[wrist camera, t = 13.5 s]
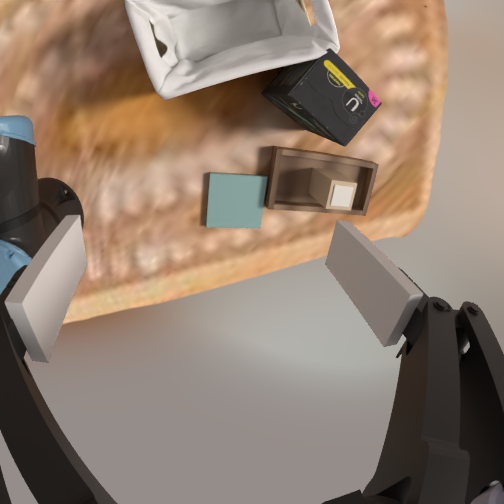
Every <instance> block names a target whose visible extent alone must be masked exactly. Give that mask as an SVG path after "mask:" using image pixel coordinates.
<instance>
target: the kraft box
mask: <svg viewBox="0 0 504 504" xmlns="http://www.w3.org/2000/svg"><path fill="white" fill-rule="evenodd" d="M356 187H357V183H356V182H354V181H353V180H351V179H350V178H348V177H346V176H345V175H343V174H341V173H340V172H338V171H336V170H329V169H321V168H314V167H313V170H312V175H311V180H310V185H309V191H308V193H309V194H310V195H311V196H312V197H313V198H315V199H316V200H317V201H318V202H319V203H320V204H321V205H322V206H323V207H325V208H326V209H338V210H350V211H351V207H352V204H353V200H354V196H355V191H356Z"/></svg>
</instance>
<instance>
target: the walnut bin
mask: <svg viewBox="0 0 504 504" xmlns="http://www.w3.org/2000/svg"><path fill="white" fill-rule="evenodd" d="M313 167H314V168H321V169H329V170H336V171H338V172H340V173H341V174H343V175H345V176H346V177H348V178H350V179H351V180H353V181H354V182H356V183H357V187H356V191H355V196H354V200H353V204H352V207H351V211H350V210H338V209H326V208H325V207H323V206H322V205H321V204H320V203H319V202H318V201H317V200H316V199H315V198H313V197H312V196H311V195H310V194H309V193H308V191H309V185H310V180H311V175H312V170H313ZM377 169H378V164H376V163H374V162H372V161H367V160H362V159H357V158H351V157H346V156H340V155H334V154H328V153H322V152H315V151H308V150H301V149H294V148H286V147H277V146H273V151H272V158H271V165H270V171H269V178H268V185H267V192H266V198H265V206H266V207H267V208H268V209H273V210H292V211H309V212H324V213H338V214H351V215H364V216H366V212H367V208H368V205H369V201H370V197H371V193H372V189H373V185H374V181H375V177H376V173H377Z"/></svg>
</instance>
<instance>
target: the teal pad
mask: <svg viewBox="0 0 504 504" xmlns="http://www.w3.org/2000/svg"><path fill="white" fill-rule="evenodd" d="M267 178H268V177H267V176H265V175H252V174H235V173H215V172H210V177H209V190H208V203H207V218H206V227H220V228H260V225H261V218H262V211H263V205H264V198H265V191H266V184H267Z"/></svg>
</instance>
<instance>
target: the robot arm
mask: <svg viewBox="0 0 504 504" xmlns="http://www.w3.org/2000/svg"><path fill="white" fill-rule="evenodd" d="M35 147H36V143H35V141H34V133H33V124H32V121H31V120H30V119H29V118H28V117H26V116H21V115H15V116H1V117H0V430H1V433H2V435H3V437H4V439H5V442H6V444H7V446H8V449H9V451H10V453H11V455H12V457H13V459H14V461H15V463H16V465H17V467H18V469H19V471H20V472H21V475H22V477H23V478H24V480H25V482H26V484H27V485H28V487H29V489H30V491H31V492H32V494H33V495H34V497H35V499H36V500H37V502H38V503H39V504H117V503H116V502H115V501H114V500H113V498H112V497H111V496H110V495H109V494H108V493H107V491H106V490H105V489H104V488H103V487H102V486H101V484H100V483H99V482H98V481H97V479H96V478H95V477H94V476H93V474H92V473H91V472H90V471H89V469H88V468H87V467H86V465H85V464H84V462H83V461H82V460H81V458H80V457H79V456H78V454H77V453H76V451H75V450H74V448H73V447H72V445H71V444H70V442H69V441H68V439H67V438H66V436H65V435H64V433H63V432H62V430H61V429H60V427H59V425H58V423H57V422H56V420H55V418H54V417H53V415H52V413H51V411H50V410H49V408H48V406H47V404H46V402H45V400H44V399H43V397H42V395H41V393H40V391H39V389H38V387H37V385H36V383H35V381H34V379H33V376H32V374H31V372H30V370H29V368H28V366H27V364H26V362H25V360H24V355H25V352H26V350H27V352H28V354H29V355H30V357H31V359H32V360H33V361H39V362H46V363H49V360H50V357H51V354H52V351H53V348H54V345H55V342H56V339H57V336H58V333H59V331H60V328H61V325H62V323H63V320H64V318H65V315H66V312H67V310H68V307H69V305H70V302H71V300H72V298H73V295H74V293H75V290H76V288H77V286H78V284H79V281H80V279H81V277H82V275H83V272H84V270H85V268H86V266H87V259H86V253H85V247H84V241H83V234H82V229H83V224H84V215H83V209H82V206H81V203H80V201H79V199H78V197H77V195H76V194H75V192H74V191H73V190H72V189H71V188H70V187H69V186H68V185H67V184H65V183H64V182H62V181H60V180H58V179H54V178H41V179H38V180H37V171H36V161H35ZM65 189H67V190H69V195H67V194H65ZM325 264H326V266H327V267H328V269H329V270H330V271H331V273H332V274H333V275H334V277H335V278H336V279H337V281H338V282H339V284H340V285H341V286H342V287H343V289H344V291H345V292H346V293H347V295H348V296H349V297H350V299H351V300H352V302H353V303H354V305H355V306H356V307H357V309H358V310H359V312H360V313H361V314H362V316H363V317H364V319H365V320H366V322H367V323H368V325H369V326H370V327H371V329H372V330H373V332H374V333H375V335H376V336H377V338H378V339H379V341H380V342H381V344H382V345H383V347H386V346H391V345H395V344H397V343H398V341H399V339H400V337H401V336H402V334H403V335H404V336H405V337H406V341H405V343H404V344H403V346H402V347H401V349H400V351H399V352H398V354H397V356H396V358H398V357H399V356H400V355H401V354H402V357H401V364H400V371H399V377H398V383H397V389H396V395H395V399H394V405H393V409H392V413H391V418H390V422H389V426H388V431H387V434H386V438H385V442H384V446H383V449H382V453H381V456H380V460H379V463H378V466H377V470H376V472H375V475H374V476H373V478H372V479H371V481H370V482H369V483H368V485H367V486H366V488H365V490H364V491H363V493H361V491H360V490H357V491H355V492H352V493H350V494H346V495H344V496H341V497H338V498H335V499H332V500H329V501H326V502H324V503H322V504H464V503H465V504H504V354H503V352H502V350H501V348H500V345H499V343H498V341H497V339H496V337H495V335H494V333H493V331H492V329H491V327H490V325H489V323H488V321H487V319H486V317H485V315H484V313H483V312H482V310H481V309H480V308H479V307H478V305H476V304H474V303H471V302H464V303H463V304H462V306H461V308H460V310H453V309H452V307H451V306H450V305H449V304H448V303H447V302H446V301H444V300H443V299H441V298H438V297H430V298H429V297H428V296H427V295H426V294H425V293H424V292H423V291H422V290H421V289H420V288H419V287H418V286H417V284H416V283H415V282H413V280H411V278H410V277H408V275H407V274H406V273H405V272H404V271H403V270H402V269H400V268H398V267H397V266H396V265H395V264H394V263H393V262H392V261H391V260H390V259H389V258H388V257H387V256H386V255H385V254H384V253H383V252H381V251H380V250H379V249H378V248H377V247H376V246H375V245H374V244H373V243H372V242H371V241H370V240H369V239H368V238H367V237H366V236H365V235H363V234H362V233H361V232H360V231H359V230H358V229H357V228H356V227H355V226H354V225H353V224H351V223H350V222H349V221H340V220H337V222H336V226H335V230H334V234H333V237H332V241H331V245H330V249H329V252H328V256H327V259H326V263H325ZM468 342H469V343H470V348H469V349H468V351H467V352H466V353H464V351H463V349H464V347H465V346H466V344H467V343H468ZM0 504H11V500H10V498H9V494H8V491H7V488H6V485H5V481H4V478H3V474H2V471H1V466H0Z"/></svg>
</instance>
